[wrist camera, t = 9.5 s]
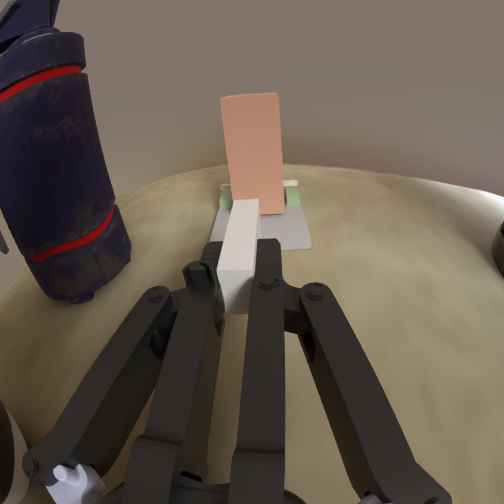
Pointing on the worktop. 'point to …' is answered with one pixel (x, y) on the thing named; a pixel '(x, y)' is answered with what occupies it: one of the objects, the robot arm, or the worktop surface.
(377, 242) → the worktop surface
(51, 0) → the navy red-striped canister
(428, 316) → the worktop surface
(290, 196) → the gauge base
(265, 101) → the tall salmon pillar
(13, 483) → the pump dispenser
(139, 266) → the worktop surface
